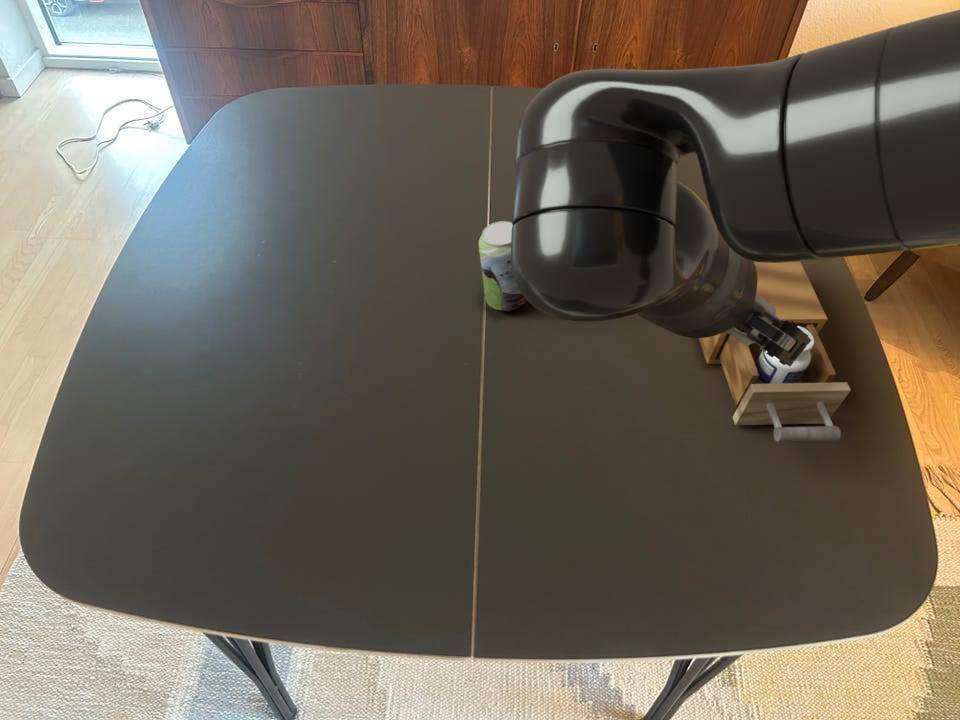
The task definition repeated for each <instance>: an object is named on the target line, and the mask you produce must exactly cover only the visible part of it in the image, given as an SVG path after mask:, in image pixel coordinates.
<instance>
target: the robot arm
mask: <svg viewBox="0 0 960 720" xmlns="http://www.w3.org/2000/svg"><path fill="white" fill-rule="evenodd" d="M515 138H516V139H515V153H514V177H513V178H514V179H513V198H512V216H511V218H512V219H511V223H512V226H513V227H512V233H511V267H512V272H513V276H514V279H515V281H516V284H517V286H518V288H519V290H520V291H521V293H522V294H523V295H524V297H525V298H526V299H527V302H528V303H529V304H530V305H531V306H532V307H534V308H535V309H537V310H538V311H540V312H541V313H543V314H545V315H548V316H550V317H554V318H556V319H559V320H564V321H570V322H582V323H583V322H585V323H586V322H587V323H590V322H592V323H593V322H606V321H612V320H619V319H623V318H626V317H630V316H634V315H638V316H639V317H641V318H642V319H643V320H646V322H647V321H648V322H649V323H651V324H653V325H656V326H658V327H660V328H663V329H665V330H666V331H669V332H671V333H673V334H675V335H678V336H681V337H685V338H690V339H699V338H706V337H711V336H715V335H718V334H721V333H723V332H727V333H728V334H730V335H731V336H733V337H734V338H736V339H737V340H739V341H740V342H742V343H743V344H745V345H750V344H752V343H756V344H757V345H759V346H760V349H761V350H763V351H764V352H766V351H767V353H766V354H768V355H769V356H771V357H772V358H773V356H775V357H776V358H778V359H779V360H780V361H779V362H780V363H782V364H783V365H785V364H787V365H788V366H791V365H792V364H793V363H794V361H795V360H796V359H797V358H798V356H799V355H800V354H801V353H802V351H803V350H804V349H805V348H806V346H807V345H808V344H809V343H810V341H811V339H810V338H809V337H808V335H807V334H806V333H804V332H803V331H802V330H801V329H799V328H798V327H797V326H798V325H797V324H796V323H794V322H793V321H791V323H790V322H789V321H787V320H784V319H782V320H780V319H779V318H778V317H776V315H775V313H776V308H775V307H774V306H773V305H772V304H770V303H769V302H768V301H766V300H765V299H763V298H762V297H761V296H759V295H758V294H756V291H757V270H756V266H755V263H754V261H755V262H762V263H786V262H799V261H800V262H808V261H817V260H818V261H819V260H823V259H825V260H826V259H837V258H845V257H855V256H857V257H858V256H866V255H876V254H887V253H898V252H909V251H920V250H930V249H940V248H941V249H942V248H949V247H958V246H960V9H956V10H954V11H948V12H943V13H939V14H936V15H932V16H929V17H925V18H921V19H917V20H914V21H909V22H906V23H903V24H899V25H896V26H892V27H889V28H886V29H881V30H878V31H875V32H871V33H868V34H865V35H864V34H863V35H861V36H858V37H853V38H850V39H847V40H844V41H839V42H836V43H833V44H829V45H825V46H823V47H819V48H816V49H812V50H809V51H807V52H806V53H805V52H802V53H798V54H795V55H792V56H788V57H785V58H782V59H778V60H775V61H771V62H770V61H769V62H763V63H753V64H745V65H744V64H743V65H735V66H734V65H733V66H732V65H731V66H717V67H716V66H715V67H702V68H700V67H699V68H682V69H681V68H680V69H632V68H631V69H630V68H629V69H628V68H592V69H582V70H576V71H573V72H569V73H567V74H565V75H562V76H560V77H558V78H556V79H555V80H553V81H552V82H550V83H548V84H547V85H545V87H543V88H542V89H541V90H540V91H539V92H537V93H536V95H535V96H534V97H533V98H532V99H531V100H530V101H529V102H528V104H527V106H526V107H525V109H524V110H523V112H522V114H521V116H520V118H519V122H518V126H517V131H516V137H515ZM693 154H694V155H695V154H696V157H697V160H698V165H699V168H700V169H699V170H700V172H701V177H702V182H703V185H704V190H705V194H706V199H707V202H708V205H709V206H708V205H707V204H706V202H704V201H703V200H702V198H701V197H700V196H699V195H698V194H697V193H696V192H695V191H694V190H692V189H691V188H690V187H688V186H687V185H686V184H684V183H683V182H681V181H679V180H678V174H679V173H678V167H679V160H680V159H681V158H683V157H686V156H689V155H693ZM770 321H771V322H772V324H771V323H769V322H770ZM733 327H735V328H736V329H734V328H733ZM759 333H761V334H762V337H761V338H759V337H758V335H759Z"/></svg>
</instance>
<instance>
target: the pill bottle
mask: <svg viewBox="0 0 960 720" xmlns="http://www.w3.org/2000/svg"><path fill="white" fill-rule="evenodd" d="M797 327H798V328H799V329H801V330H802V331H803V332H804V333H806V334H807V335H808V337H809V338H810V339H811V341H810V343H809V344H808V345H807V346H806V348H805V349H804V350H803V351H802V353H801V354H800V355H799V356H798V358H797V359H796V360H795V361H794V363H793V364H792V365H791V366H788V365H787V364H785V365H783V364H782V363H780V362H779V361H780V360H779V359H778V358H776V357H775V356H773V358H772V357H771V356H769V355H768V354H766V353H767V351H766V352H764V351H762V352H761V354H760V356H759V358H758V360H757V362H756V364H755V366H756V368H757V371H758V374H759V377H758V378H757V380H756V382H755V384H778V383H798V382H799V380H800V378H801V377H802V375H803V374H804V372H805V370H806V369H807V367H808V365H809V363H810V361H811V354H810V350H811V349H812V347H813V345H814V338H813V336H812V334H811V333H810V332H809V331H808V330H806V329H805V328H803V327H801V326H797Z"/></svg>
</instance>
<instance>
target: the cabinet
mask: <svg viewBox="0 0 960 720" xmlns="http://www.w3.org/2000/svg"><path fill="white" fill-rule="evenodd" d="M754 263H755V266H756V270H757V291H756V294H758V295H759V296H761V297H762V298H763V299H765V300H766V301H768V302H769V303H770V304H772V305H773V306H774V307H775V308H776V313H775V315H776V317H778V318H779V319H780V320H782V319H784V320H787V321H789V322H790V323H791V321H793V322H794V323H813V325H814V327H815V329H816V331H817V333H818V335H819V333H820V332H821V331H822V329H823V328H824V326H825V324H826V323H827V321H828V317H827V315H826V312H825V311H824V308H823V306H822V304H821V302H820V300H819V298H818V296H817V294H816V291H815V289H814V288H813V285H812V283H811V281H810V279H809V277H808V274H807V273H806V270H805V268H804V267H803V264H802V261H799V262H786V263H762V262H755V261H754ZM769 323H771V324H772V322H771V321H770V322H769ZM726 335H727V332H723V333H721V334H718V335H715V336H711V337H706V338H698V341H699V344H700V347H701V350H702V353H703V356H704V360H705V362H706V364H707V365H722V364H721V361H720V358H719V355H718V352H719V350H720V347H721V345H722V343H723V341H724V339H725V337H726Z"/></svg>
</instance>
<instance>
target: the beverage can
mask: <svg viewBox="0 0 960 720" xmlns="http://www.w3.org/2000/svg"><path fill="white" fill-rule="evenodd" d="M512 227H513V226H512V221H507V220H506V221H505V220H502V221H495V222H492V223H489V224H487V225H486V226H485V227H484V228H483V230H482V231H481V235H480V237H479V240H478V251H479V259H480V260H479V261H480V267H481V275H482V283H483V288H484V289H483V292H484V298H485V302H486V304H487V305H488V306H489V307H490V308H492V309H494V310H497V311H501V312H503V311H504V312H510V311H514V310H517V309H520V308H521V307H523V306H524V305H525V304H526V303H527V302H528V300H527V299H526V298H525V297H524V295H523V294H522V293H521V291H520V290H519V288H518V286H517V284H516V281H515V279H514V276H513V272H512V267H511V233H512Z"/></svg>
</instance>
